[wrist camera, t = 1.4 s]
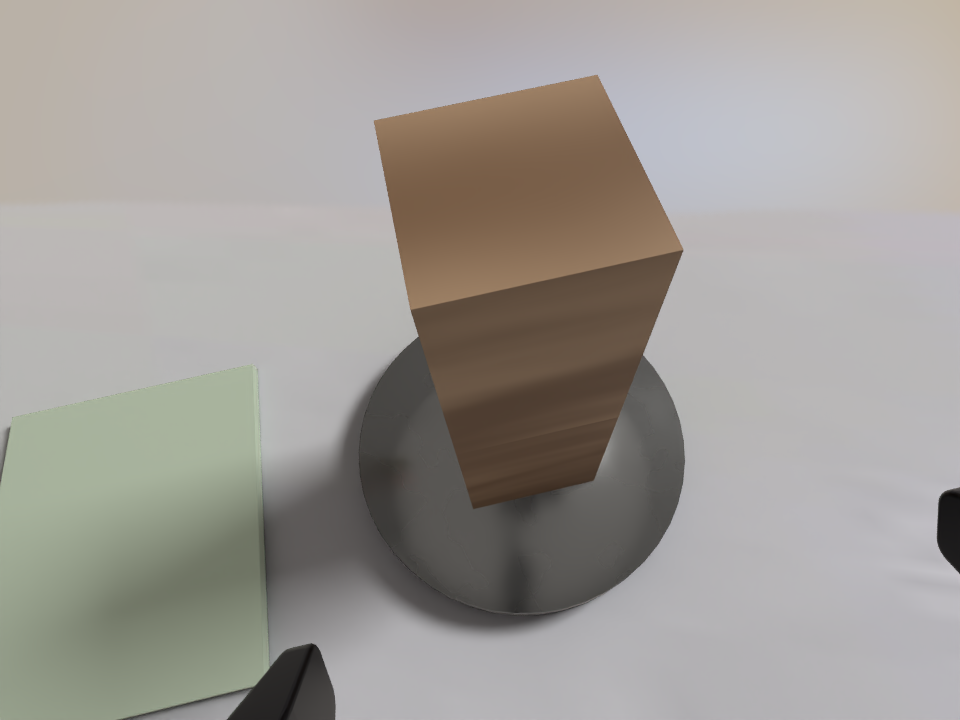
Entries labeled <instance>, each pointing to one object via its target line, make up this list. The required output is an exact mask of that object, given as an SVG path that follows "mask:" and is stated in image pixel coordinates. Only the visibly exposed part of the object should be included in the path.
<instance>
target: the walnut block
mask: <svg viewBox="0 0 960 720" xmlns="http://www.w3.org/2000/svg"><path fill="white" fill-rule="evenodd" d="M374 124H375V129H376V134H377V139H378V145H379V150H380V155H381V160H382V165H383V171H384V176H385V181H386V186H387V191H388V196H389V201H390V207H391V212H392V217H393V222H394V227H395V232H396V238H397V243H398V248H399V253H400V258H401V263H402V269H403V274H404V279H405V284H406V289H407V294H408V299H409V305H410V310H411V313H412V316H413V319H414V323H415V326H416V329H417V332H418V335H419V338H420V342H421V345H422V348H423V351H424V354H425V357H426V361H427V364H428V367H429V370H430V373H431V376H432V380H433V383H434V386H435V389H436V392H437V396H438V399H439V402H440V405H441V408H442V411H443V415H444V418H445V421H446V424H447V427H448V430H449V434H450V437H451V440H452V443H453V446H454V449H455V453H456V456H457V459H458V462H459V465H460V469H461V472H462V475H463V478H464V481H465V484H466V488H467V491H468V494H469V497H470V500H471V503H472V507H473V509H476V508H481V507H485V506H489V505H493V504H498V503H502V502H506V501H510V500H514V499H519V498H523V497H527V496H531V495H536V494H540V493H544V492H548V491H552V490H557V489H561V488H565V487H569V486H574V485H578V484H582V483H586V482H590V481H594V479H595V476H596V474H597V471H598V469H599V466H600V463H601V461H602V458H603V456H604V453H605V451H606V448H607V445H608V443H609V440H610V438H611V435H612V433H613V430H614V427H615V425H616V422H617V420H618V417H619V415H620V412H621V409H622V407H623V404H624V402H625V399H626V397H627V394H628V391H629V389H630V386H631V384H632V381H633V379H634V376H635V373H636V371H637V368H638V366H639V363H640V361H641V358H642V355H643V353H644V350H645V348H646V345H647V343H648V340H649V337H650V335H651V332H652V330H653V327H654V324H655V322H656V319H657V317H658V314H659V312H660V309H661V306H662V304H663V301H664V299H665V296H666V294H667V291H668V288H669V286H670V283H671V281H672V278H673V276H674V273H675V270H676V268H677V265H678V263H679V260H680V258H681V255H682V252H683V248H682V246H681V244H680V242H679V240H678V238H677V236H676V234H675V231H674V229H673V227H672V225H671V223H670V221H669V219H668V217H667V215H666V213H665V211H664V209H663V207H662V205H661V203H660V201H659V199H658V197H657V195H656V193H655V191H654V189H653V187H652V185H651V183H650V181H649V179H648V177H647V175H646V173H645V171H644V169H643V167H642V164H641V162H640V160H639V158H638V156H637V154H636V152H635V150H634V148H633V146H632V144H631V142H630V140H629V138H628V136H627V134H626V132H625V130H624V128H623V126H622V124H621V122H620V120H619V118H618V116H617V114H616V112H615V110H614V108H613V106H612V104H611V102H610V100H609V98H608V95H607V93H606V92H605V89H604V87H603V86H602V83H601V81H600V79H599V77H598V75H594V76H590V77H585V78H580V79H575V80H570V81H565V82H560V83H556V84H550V85H546V86H541V87H536V88H531V89H526V90H521V91H517V92H512V93H506V94H502V95H497V96H492V97H487V98H482V99H477V100H472V101H467V102H463V103H458V104H453V105H448V106H443V107H438V108H433V109H428V110H423V111H419V112H414V113H409V114H404V115H399V116H395V117H389V118H385V119H380V120H375V121H374Z"/></svg>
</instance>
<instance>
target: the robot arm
mask: <svg viewBox="0 0 960 720" xmlns="http://www.w3.org/2000/svg"><path fill="white" fill-rule="evenodd" d="M937 543H938V547H939V549H940V551H941V553H942V554H943V556H944V557H945V558H946V560H947V561H948V562H949V563H950V564H951V565H952V566H953V567H954V568H955V569H956V570H957V571H958V572H959V574H960V487H959V488H955V489H951V490H947V491H945V492H944V493H942V495H941V496H940V498H939V502H938V523H937ZM335 706H336V705H335V695H334V690H333V686H332V684H331V681H330V678H329V675H328V672H327V669H326V667H325V664H324V661H323V658H322V655H321V652H320V650H319V648H318V647H317V646H316V645H315V644H312V643H311V644H306V645H302V646H298V647H293V648H290V649H287V650H285V651H284V652H283V653H282V654H281V655H280V656H279V657H278V659H277V660H276V661H275V662H274V663H273V665H272V666H271V667H270V668H269V669H268V671H267V672H266V673H265V674H264V675H263V677H262V678H261V679H260V680H259V681H258V683H257V684H256V685H255V686H254V687H253V689H252V690H251V691H250V692H249V693H248V695H247V696H246V697H245V698H244V700H243V701H242V702H241V703H240V704H239V706H238V707H237V708H236V709H235V710H234V712H233V713H232V714H231V715H230V716H229V718H228V719H227V720H335Z"/></svg>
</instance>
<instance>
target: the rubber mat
mask: <svg viewBox="0 0 960 720" xmlns="http://www.w3.org/2000/svg"><path fill="white" fill-rule="evenodd" d="M268 669H269V643H268V618H267V593H266V569H265V544H264V519H263V495H262V470H261V445H260V420H259V396H258V371H257V369H256V367H255V366H254V365H253V364H251V365H247V366H242V367H238V368H233V369H229V370H224V371H220V372H215V373H211V374H206V375H202V376H197V377H193V378H188V379H184V380H179V381H175V382H170V383H166V384H161V385H157V386H152V387H148V388H143V389H138V390H134V391H129V392H125V393H120V394H116V395H111V396H107V397H102V398H98V399H93V400H89V401H84V402H80V403H75V404H71V405H66V406H62V407H57V408H53V409H48V410H44V411H39V412H35V413H30V414H26V415H21V416H17V417H12V423H11V428H10V434H9V439H8V445H7V450H6V456H5V462H4V467H3V473H2V478H1V484H0V720H122V719H126V718H130V717H134V716H138V715H142V714H146V713H150V712H154V711H158V710H162V709H166V708H170V707H174V706H178V705H182V704H187V703H191V702H195V701H199V700H203V699H207V698H211V697H215V696H219V695H223V694H227V693H231V692H235V691H239V690H243V689H247V688H251V687H254V686H255V685H256V684H257V683H258V681H259V680H260V679H261V678H262V677H263V675H264V674H265V673H266V672H267V671H268Z"/></svg>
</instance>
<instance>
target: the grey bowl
mask: <svg viewBox="0 0 960 720" xmlns="http://www.w3.org/2000/svg"><path fill="white" fill-rule="evenodd" d="M359 465H360V477H361V482H362V487H363V492H364V496H365V499H366V502H367V505H368V508H369V511H370V514H371V516H372V518H373V520H374V522H375V524H376V526H377V528H378V530H379V532H380V534H381V535H382V537H383V538H384V540H385V541H386V542H387V544H388V545H389V547H390V548H391V550H392V551H393V552H394V553H395V554H396V556H397V557H398V558H399V559H400V560H401V561H402V562H403V563H404V564H405V565H406V566H407V567H408V568H409V569H410V570H411V571H412V572H413V573H415V574H416V575H417V576H418V577H420V578H421V579H422V580H423V581H424V582H426V583H427V584H428V585H429V586H431V587H432V588H434V589H436V590H437V591H439V592H441V593H442V594H444V595H446V596H447V597H449V598H451V599H453V600H456V601H458V602H461V603H463V604H465V605H468V606H470V607H473V608H477V609H481V610H485V611H489V612H492V613H500V614H509V615H541V614H547V613H553V612H558V611H563V610H566V609H569V608H573V607H576V606H579V605H582V604H585V603H587V602H589V601H591V600H593V599H595V598H597V597H599V596H601V595H603V594H605V593H606V592H608V591H609V590H611V589H612V588H613V587H615V586H616V585H618V584H619V583H621V582H622V581H623V580H625V579H626V578H627V577H628V576H629V575H630V574H631V573H633V572H634V571H635V570H636V569H637V568H638V567H639V566H640V565H641V564H642V563H643V562H644V561H645V560H646V559H647V558H648V556H649V555H650V554H651V553H652V551H653V550H654V549H655V548H656V546H657V545H658V544H659V542H660V540H661V539H662V537H663V535H664V534H665V532H666V530H667V528H668V527H669V525H670V523H671V520H672V518H673V515H674V513H675V510H676V508H677V505H678V502H679V497H680V493H681V489H682V485H683V477H684V465H685V456H684V440H683V435H682V430H681V425H680V420H679V417H678V414H677V411H676V408H675V405H674V403H673V400H672V398H671V396H670V394H669V392H668V390H667V388H666V386H665V384H664V383H663V381H662V380H661V378H660V377H659V375H658V374H657V372H656V371H655V369H654V368H653V366H652V365H651V364H650V363H649V362H648V361H647V359H646V358H645V357H644V356H643V355H642V358H641V361H640V363H639V366H638V368H637V371H636V373H635V376H634V379H633V381H632V384H631V386H630V389H629V391H628V394H627V397H626V399H625V402H624V404H623V407H622V409H621V412H620V415H619V417H618V420H617V422H616V425H615V427H614V430H613V433H612V435H611V438H610V440H609V443H608V445H607V448H606V451H605V453H604V456H603V458H602V461H601V463H600V466H599V469H598V471H597V474H596V476H595V479H594V481H590V482H586V483H582V484H578V485H574V486H569V487H565V488H561V489H557V490H552V491H548V492H544V493H540V494H536V495H531V496H527V497H523V498H519V499H514V500H510V501H506V502H502V503H498V504H493V505H489V506H485V507H481V508H476V509H473V507H472V503H471V500H470V497H469V494H468V491H467V488H466V484H465V481H464V478H463V475H462V472H461V469H460V465H459V462H458V459H457V456H456V453H455V449H454V446H453V443H452V440H451V437H450V434H449V430H448V427H447V424H446V421H445V418H444V415H443V411H442V408H441V405H440V402H439V399H438V396H437V392H436V389H435V386H434V383H433V380H432V376H431V373H430V370H429V367H428V364H427V361H426V357H425V354H424V351H423V348H422V345H421V342H420V338H419V337H418V338H416V339H415V340H414V341H413V342H412V343H411V344H410V345H409V346H407V347H406V348H405V349H404V350H403V351H402V352H401V353H400V354H399V356H398V357H397V358H396V359H395V360H394V361H393V362H392V364H391V365H390V366H389V368H388V369H387V371H386V372H385V373H384V375H383V376H382V378H381V379H380V381H379V383H378V385H377V387H376V389H375V391H374V393H373V395H372V397H371V399H370V402H369V405H368V408H367V410H366V413H365V416H364V421H363V425H362V430H361V435H360V447H359Z"/></svg>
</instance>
